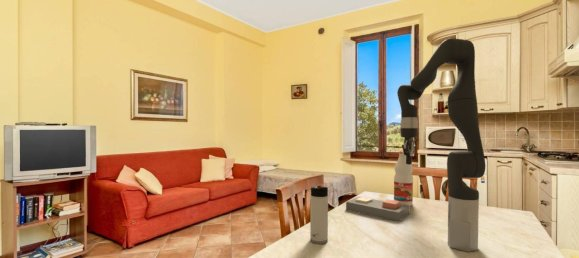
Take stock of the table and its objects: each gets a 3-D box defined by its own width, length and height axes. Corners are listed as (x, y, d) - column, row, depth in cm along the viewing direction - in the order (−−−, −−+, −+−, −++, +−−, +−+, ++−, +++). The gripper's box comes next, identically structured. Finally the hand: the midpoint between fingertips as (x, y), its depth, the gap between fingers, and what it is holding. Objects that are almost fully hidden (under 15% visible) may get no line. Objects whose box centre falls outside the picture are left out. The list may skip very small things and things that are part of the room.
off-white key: (366, 209, 145) (366, 201, 145) (355, 207, 149) (355, 199, 149) (372, 207, 150) (372, 199, 150) (361, 204, 154) (361, 197, 154)
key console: (398, 221, 131) (398, 212, 131) (346, 209, 148) (346, 201, 148) (409, 214, 142) (409, 205, 142) (359, 204, 159) (359, 196, 159)
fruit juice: (415, 203, 160) (416, 151, 160) (408, 207, 153) (409, 152, 152) (397, 200, 166) (398, 150, 166) (390, 204, 159) (391, 151, 159)
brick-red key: (395, 212, 136) (395, 204, 136) (382, 210, 140) (382, 201, 140) (400, 210, 141) (400, 201, 141) (387, 207, 145) (387, 199, 144)
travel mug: (314, 245, 105) (314, 188, 104) (307, 238, 111) (308, 184, 111) (330, 243, 106) (331, 187, 106) (323, 236, 113) (324, 183, 112)
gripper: (413, 127, 133) (412, 166, 133) (421, 127, 144) (421, 163, 144) (396, 127, 138) (395, 164, 138) (405, 127, 148) (405, 162, 148)
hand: (408, 164), depth 141 cm, fingers closed
